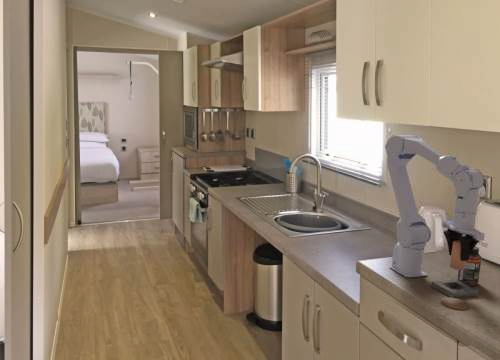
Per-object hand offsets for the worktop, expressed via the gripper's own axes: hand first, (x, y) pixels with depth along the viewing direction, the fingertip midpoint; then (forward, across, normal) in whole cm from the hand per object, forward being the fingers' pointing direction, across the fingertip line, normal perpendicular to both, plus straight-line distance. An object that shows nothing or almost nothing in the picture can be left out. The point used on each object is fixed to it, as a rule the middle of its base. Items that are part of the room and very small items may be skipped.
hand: (458, 257), depth 144 cm
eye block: (+10, 0, 0) cm, 10 cm away
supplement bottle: (+10, -5, +10) cm, 15 cm away
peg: (+3, 0, 0) cm, 3 cm away
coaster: (+10, +8, -7) cm, 15 cm away
